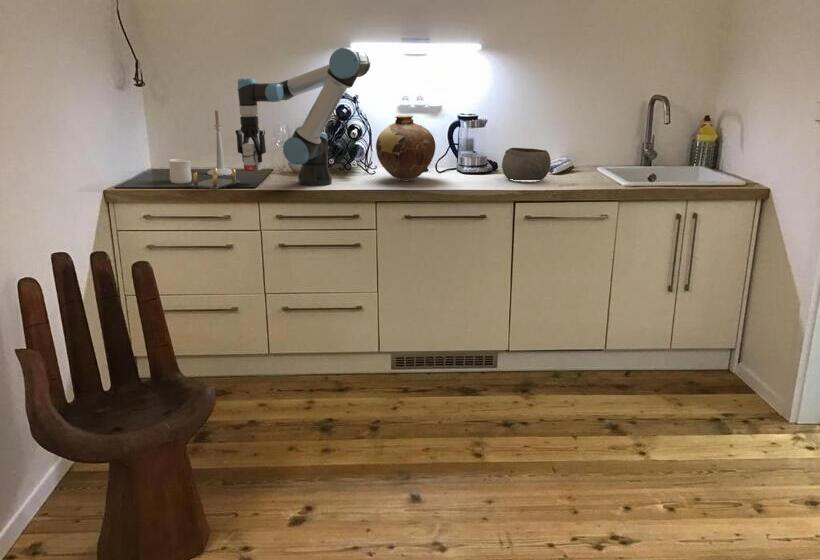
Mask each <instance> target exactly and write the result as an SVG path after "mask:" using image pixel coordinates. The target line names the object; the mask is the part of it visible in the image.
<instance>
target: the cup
mask: <svg viewBox="0 0 820 560" xmlns="http://www.w3.org/2000/svg"><path fill="white" fill-rule="evenodd" d="M168 162H169V180H170V182H171V183H172V184H188V183H189V184H190V183H191V182H192V179H193V177H192V176H193V175H192V170H191V159H187V158H178V157H177V158H171V159H168Z"/></svg>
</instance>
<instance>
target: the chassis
mask: <svg viewBox="0 0 820 560" xmlns="http://www.w3.org/2000/svg"><path fill="white" fill-rule="evenodd" d="M212 169H213V174H212V175H211V176H212V178H210V179H205V180H201V181H198V172H193V174H192V176H193V177H192V178H193V183H189V186H188V187H189V188H196V187H198V189H199V188H200V189H207V188H209V189H211V190H220V189H219V188H221V189H223V188H222V187H224V188H226V187H225V186H228V187H230V186H229V185H231V186H234V185H233V184H235V185H237V184H236V183H238V184H241V180H238V179H236V178H237V177H236V174H237V173H236V169H234V168H233V169H231V170H232V175H231V179H227V178H218V176H217V168H216V167H213V168H212Z"/></svg>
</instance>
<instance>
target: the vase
mask: <svg viewBox="0 0 820 560" xmlns="http://www.w3.org/2000/svg"><path fill="white" fill-rule="evenodd" d="M413 117H414V115H411V114H398V115H394V118H395V121H394V123H392V124H389V125H388V126H386V127H385V128H384V129H383V130H382V131H380V133H379V135H378V136H377V139H376V142H375V143H376V144H375V150H376V157H377V159H378V162H379V163H380V164H381V166H382V167H383V169H384V170H385V171H386V172H387V173H388V174H389V175H390V176H391V177H394V178H395V179H397V180H399V179H400V180H399V181H402V180H410V181H412V179H413V180H416V179H417V178H418V177H420V176H421V175H422V174H423V173H424V172H425V171H426V169H427V168H428V167H429V166H430V164H431V162H432V161H433V158H434V156H435V153H436V140H435V138H434V135H433V134H432V132H430V130H429V129H427V128H425V127H424V126H422V125H421V124H418V123H415V122H414V119H413Z"/></svg>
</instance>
